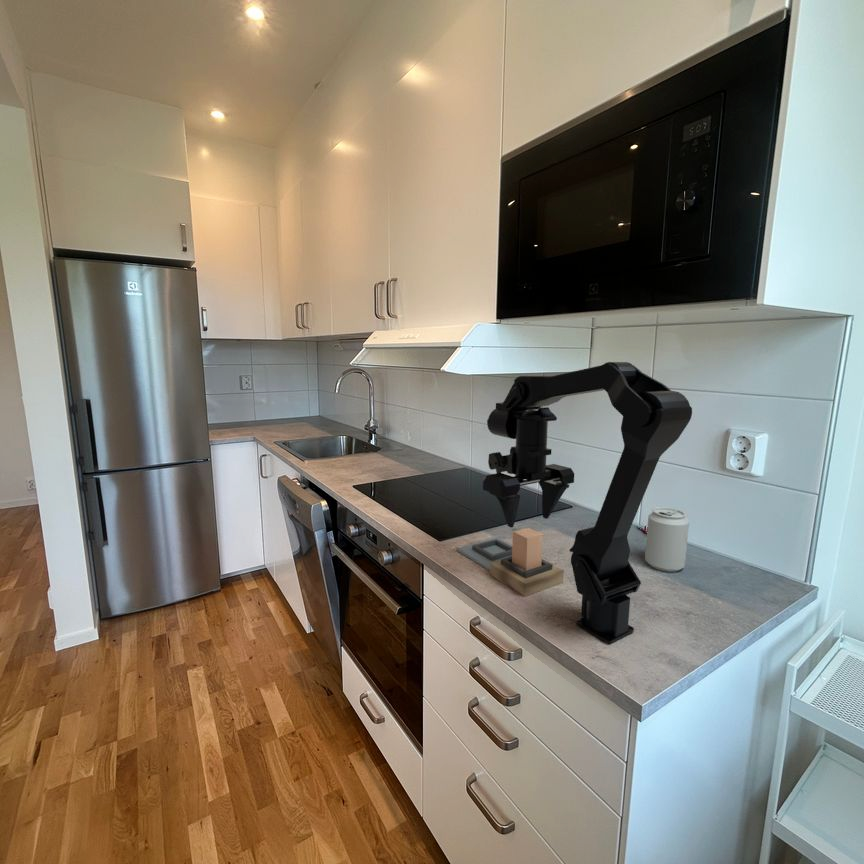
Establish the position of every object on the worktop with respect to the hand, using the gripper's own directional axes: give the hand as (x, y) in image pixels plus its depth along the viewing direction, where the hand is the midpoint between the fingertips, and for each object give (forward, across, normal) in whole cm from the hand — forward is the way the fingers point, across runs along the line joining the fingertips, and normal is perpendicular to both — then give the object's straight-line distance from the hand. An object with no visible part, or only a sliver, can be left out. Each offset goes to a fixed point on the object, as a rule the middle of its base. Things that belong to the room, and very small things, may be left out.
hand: (528, 522), depth 88 cm
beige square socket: (+12, 0, 0) cm, 12 cm away
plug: (+9, 0, 0) cm, 9 cm away
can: (+12, -29, +11) cm, 33 cm away
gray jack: (+12, -2, -12) cm, 17 cm away
